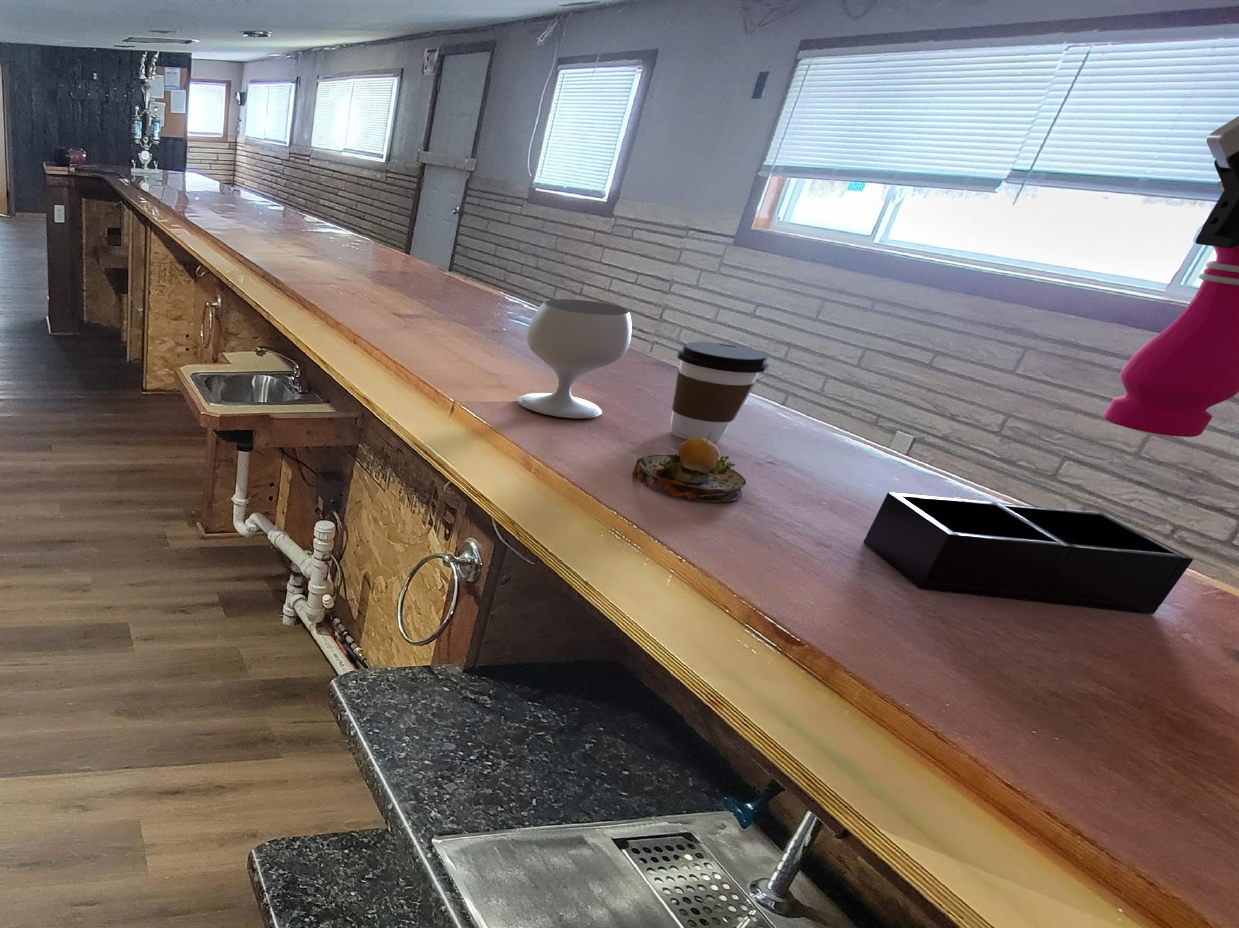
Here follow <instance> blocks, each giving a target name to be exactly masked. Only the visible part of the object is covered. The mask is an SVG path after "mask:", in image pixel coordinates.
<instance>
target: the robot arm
mask: <svg viewBox="0 0 1239 928" xmlns="http://www.w3.org/2000/svg"><path fill="white" fill-rule="evenodd" d="M1206 144H1207V146H1208V149H1209V151H1210V153H1211V155H1212V158H1213V159H1214V162H1213V164H1214V168H1215V170H1216V172H1217V174H1218V177H1219V180H1218V182H1217V186H1216V187H1217V188H1218V189H1219V190H1221V191H1222V193H1221V194H1220V196H1219V198H1218V199H1217V201H1216V203H1215V204H1214V207H1213V208H1212V209H1211V212H1210V213H1209V215H1208V217H1206V220H1205V222H1204V223H1203V225H1202V227H1201V230H1200V231H1199V233H1198V235H1197V236H1196V239H1195V244H1196V245H1201V246H1210V247H1213V246H1215V247H1222V248H1234V247H1236V246H1238V245H1239V115H1238V116H1236V117H1234V118H1233V119H1231V120H1229V121H1228V122H1227V123H1225V124H1223V125H1222V126H1220V127H1218V128H1217V129H1215V130H1213V131H1212V132H1211V133H1210V134H1209V135H1207V137H1206Z"/></svg>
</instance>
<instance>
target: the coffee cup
mask: <svg viewBox="0 0 1239 928" xmlns="http://www.w3.org/2000/svg"><path fill="white" fill-rule="evenodd" d="M676 358H677V359H678V360H680V363H679V368H678V369H677V372H676V373H677V374H676V379H675V384H674V392H673V398H672V404H671V411H672V412H671V417H670V418H671V419H670V429H671V433H672V434H673V436H675V437H677V438H681V439H683V440H685V441H687V440H689V439H691V438H703V439H708V437H709V436H710V437H709V441H711V442H713V443H717V442H718V441H719V440H721V439H722V438H723V437H724V436H725V435H726V432H727V430H728V429H729V427H730V426H731V423H732V422H733V421H734V420H736V418H737V416H738V414H739V412H740V411H741V409H742V407H743V406H744V404H745V402H746V400H747V399H748V396H749V395H750V393H751V392H752V390H753V388H754V387H755V385H756V380H757V379H758V377H759V375H760V373H763V372H766V371H768V369H769V366H770V364H769V363H768V362H767V361H768V359H769V358H768V356H767V355H766V354H765V353H764V352H761V351H760V350H757V349H754V348H749V347H745V346H741V345H735V344H729V343H722V342H713V341H711V342H710V341H694V342H693V341H692V342H688V343H685V344H684V345H683V346H682V348H681V349H680V350H678V351H677V352H676ZM711 432H712V433H711ZM710 434H711V435H710Z"/></svg>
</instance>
